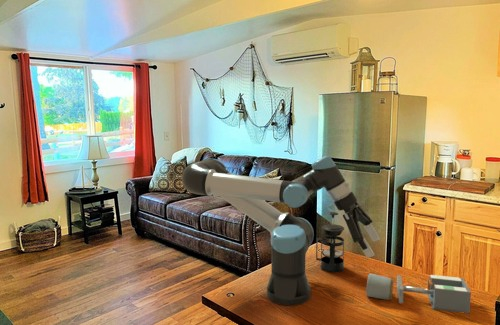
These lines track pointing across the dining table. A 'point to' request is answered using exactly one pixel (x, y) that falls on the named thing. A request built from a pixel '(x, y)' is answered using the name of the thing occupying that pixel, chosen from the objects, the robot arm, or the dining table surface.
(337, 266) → the french press
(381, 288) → the ceramic mug
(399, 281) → the plunger
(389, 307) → the dining table surface
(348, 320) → the dining table surface
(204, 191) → the robot arm
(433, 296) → the grey bracket housing
